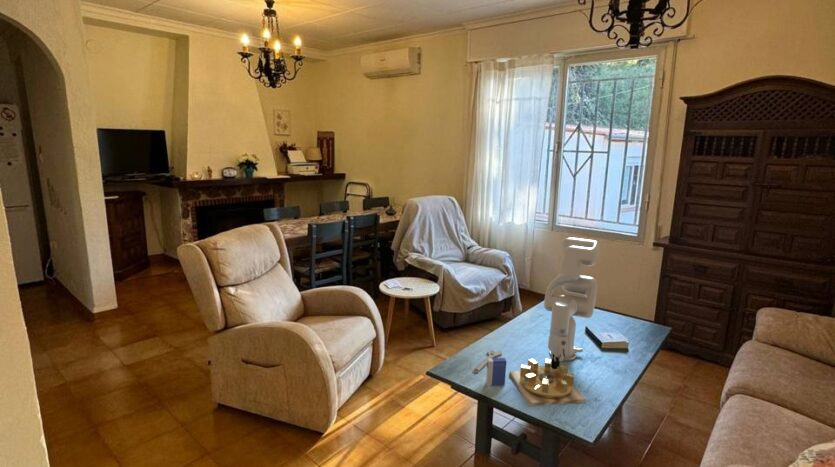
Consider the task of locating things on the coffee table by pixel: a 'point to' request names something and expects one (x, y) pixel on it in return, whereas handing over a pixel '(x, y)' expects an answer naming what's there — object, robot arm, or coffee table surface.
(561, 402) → the base plate
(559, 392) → the bevel gear
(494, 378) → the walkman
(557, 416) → the coffee table surface
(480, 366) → the adjustable wrench
